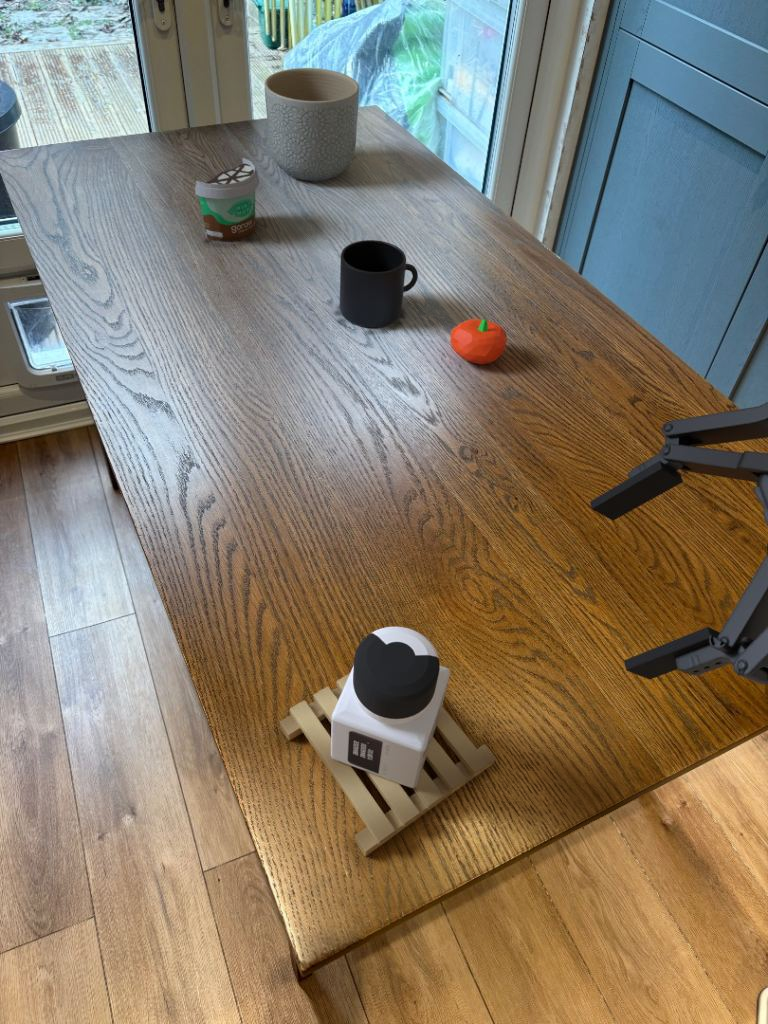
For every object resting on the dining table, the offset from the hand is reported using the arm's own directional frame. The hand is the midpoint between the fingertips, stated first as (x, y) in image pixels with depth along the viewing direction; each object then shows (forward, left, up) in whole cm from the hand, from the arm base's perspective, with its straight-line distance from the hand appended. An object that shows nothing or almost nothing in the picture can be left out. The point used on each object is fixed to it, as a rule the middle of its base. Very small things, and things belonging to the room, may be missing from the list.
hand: (617, 585), depth 56 cm
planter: (+110, -41, -20) cm, 119 cm away
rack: (+6, +16, -20) cm, 26 cm away
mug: (+64, -24, -20) cm, 71 cm away
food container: (+95, -17, -20) cm, 98 cm away
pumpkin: (+47, -29, -20) cm, 59 cm away
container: (+6, +16, -18) cm, 24 cm away
